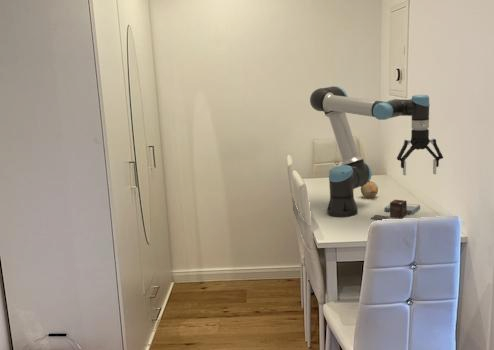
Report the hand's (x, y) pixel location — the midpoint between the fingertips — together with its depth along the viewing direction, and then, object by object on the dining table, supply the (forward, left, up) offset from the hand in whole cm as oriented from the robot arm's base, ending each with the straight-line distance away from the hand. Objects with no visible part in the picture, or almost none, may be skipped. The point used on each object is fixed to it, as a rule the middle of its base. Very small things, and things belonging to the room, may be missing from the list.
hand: (419, 174), depth 227 cm
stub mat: (-16, -10, -20) cm, 28 cm away
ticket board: (-11, +6, -20) cm, 24 cm away
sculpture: (-35, +23, -21) cm, 47 cm away
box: (-9, -4, -21) cm, 23 cm away
